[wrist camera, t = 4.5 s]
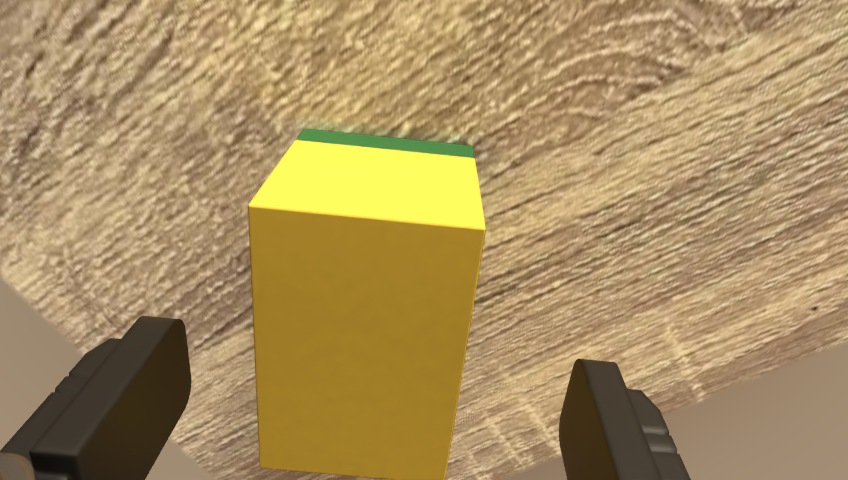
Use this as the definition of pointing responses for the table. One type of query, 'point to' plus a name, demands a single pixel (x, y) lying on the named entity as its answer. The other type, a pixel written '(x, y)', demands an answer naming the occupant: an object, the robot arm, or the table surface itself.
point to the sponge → (363, 303)
